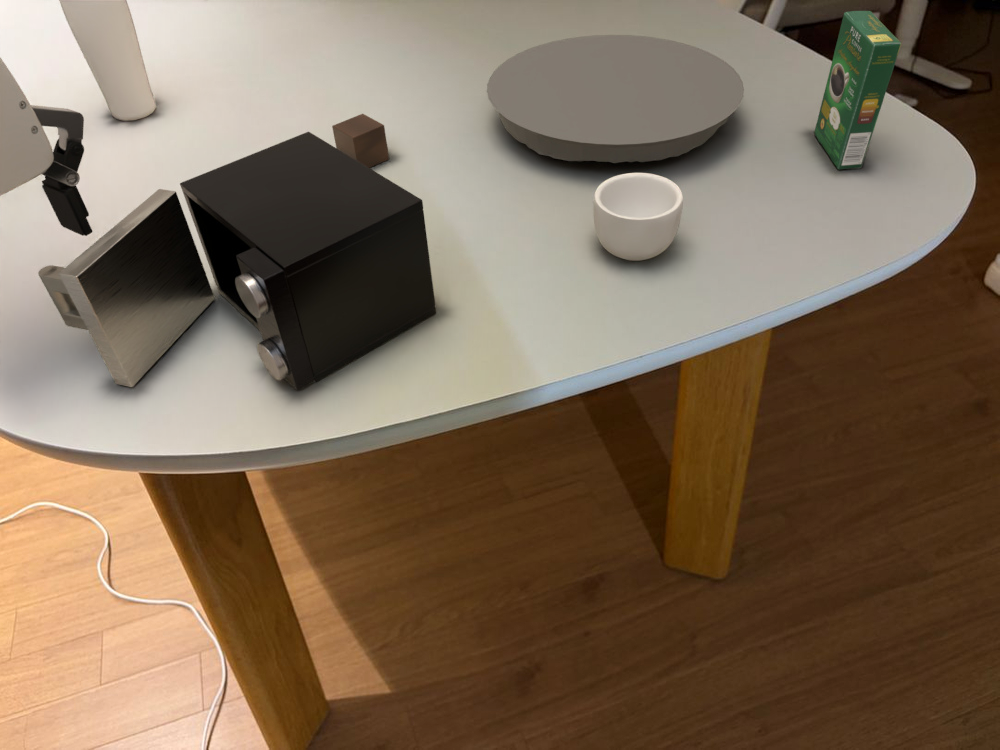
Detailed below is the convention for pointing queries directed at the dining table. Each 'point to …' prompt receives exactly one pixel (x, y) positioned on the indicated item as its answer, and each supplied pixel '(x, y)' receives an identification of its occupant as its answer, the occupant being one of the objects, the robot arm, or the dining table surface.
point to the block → (362, 140)
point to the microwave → (313, 254)
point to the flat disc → (614, 97)
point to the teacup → (637, 214)
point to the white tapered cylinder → (112, 54)
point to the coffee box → (855, 88)
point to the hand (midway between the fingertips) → (23, 260)
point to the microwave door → (134, 287)
